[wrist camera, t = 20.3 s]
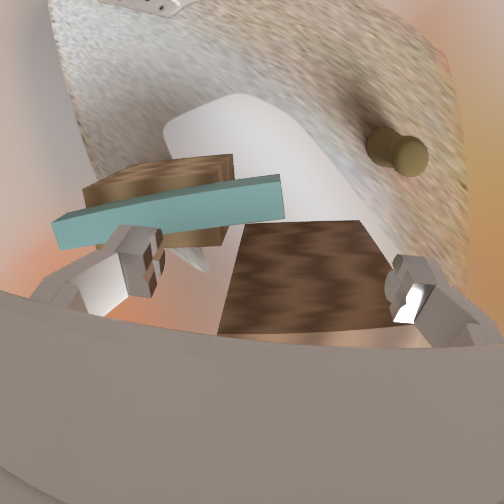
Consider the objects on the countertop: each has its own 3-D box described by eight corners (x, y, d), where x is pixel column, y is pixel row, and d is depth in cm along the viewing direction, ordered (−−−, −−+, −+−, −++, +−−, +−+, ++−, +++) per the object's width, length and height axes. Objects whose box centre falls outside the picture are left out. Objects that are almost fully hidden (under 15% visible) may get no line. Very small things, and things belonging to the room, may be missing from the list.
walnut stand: (250, 289, 54) (233, 415, 30) (245, 223, 48) (217, 334, 25) (354, 285, 52) (395, 405, 28) (359, 220, 47) (425, 323, 23)
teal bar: (75, 238, 35) (60, 250, 32) (66, 213, 33) (50, 223, 30) (284, 207, 31) (284, 218, 28) (279, 174, 30) (280, 181, 27)
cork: (375, 120, 40) (403, 124, 30) (408, 138, 40) (442, 148, 31) (360, 156, 43) (384, 170, 33) (393, 172, 43) (423, 191, 33)
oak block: (141, 212, 49) (97, 251, 35) (133, 164, 45) (82, 189, 32) (237, 205, 47) (221, 245, 34) (232, 153, 44) (212, 173, 30)
